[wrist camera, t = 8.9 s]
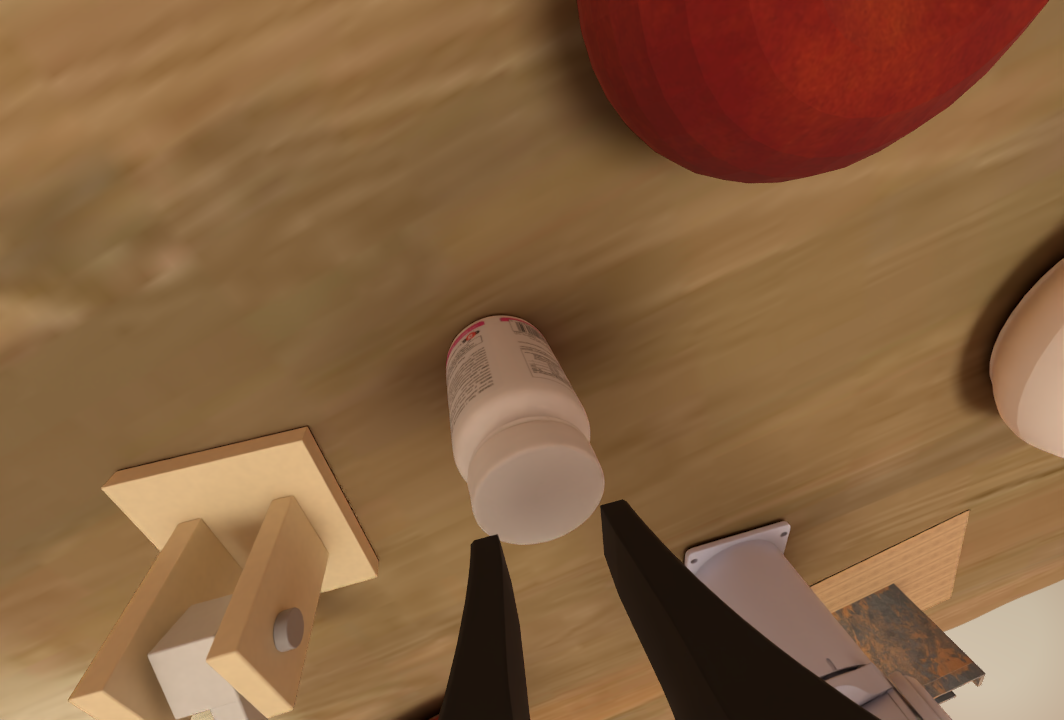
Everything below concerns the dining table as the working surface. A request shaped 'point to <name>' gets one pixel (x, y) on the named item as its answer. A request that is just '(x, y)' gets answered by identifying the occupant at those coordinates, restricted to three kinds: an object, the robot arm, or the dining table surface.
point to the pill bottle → (519, 433)
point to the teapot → (1033, 365)
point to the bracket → (229, 569)
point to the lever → (197, 667)
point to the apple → (789, 75)
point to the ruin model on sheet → (905, 609)
